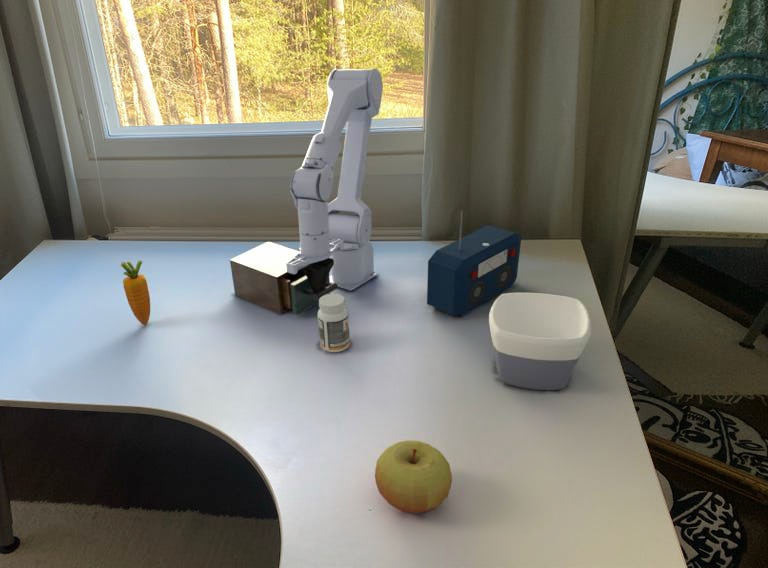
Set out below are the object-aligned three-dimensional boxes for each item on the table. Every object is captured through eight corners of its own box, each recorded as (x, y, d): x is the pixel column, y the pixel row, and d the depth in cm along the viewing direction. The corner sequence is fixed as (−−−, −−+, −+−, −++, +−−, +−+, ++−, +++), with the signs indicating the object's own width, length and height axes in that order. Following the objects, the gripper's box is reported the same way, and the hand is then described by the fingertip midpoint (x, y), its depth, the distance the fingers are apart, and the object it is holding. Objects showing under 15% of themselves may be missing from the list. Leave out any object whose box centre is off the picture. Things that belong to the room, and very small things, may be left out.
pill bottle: (354, 339, 119) (352, 294, 114) (343, 355, 115) (341, 309, 110) (326, 335, 121) (323, 290, 116) (315, 350, 117) (311, 304, 112)
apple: (436, 466, 89) (438, 422, 85) (460, 518, 81) (464, 473, 77) (368, 476, 88) (367, 433, 84) (386, 530, 80) (385, 485, 76)
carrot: (159, 318, 133) (145, 254, 125) (153, 331, 129) (137, 265, 121) (137, 319, 134) (121, 255, 126) (130, 331, 129) (113, 266, 122)
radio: (458, 323, 121) (464, 226, 110) (423, 308, 127) (425, 215, 117) (522, 285, 131) (532, 193, 121) (486, 273, 137) (494, 184, 127)
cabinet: (318, 292, 137) (315, 256, 132) (280, 314, 130) (276, 277, 126) (272, 275, 146) (268, 241, 141) (234, 294, 139) (229, 259, 135)
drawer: (345, 300, 131) (344, 271, 127) (312, 321, 125) (309, 291, 121) (285, 278, 142) (283, 251, 138) (252, 296, 136) (248, 268, 132)
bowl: (583, 404, 97) (595, 344, 92) (481, 392, 102) (486, 334, 97) (578, 350, 110) (588, 295, 104) (487, 341, 115) (492, 288, 109)
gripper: (324, 215, 127) (327, 275, 134) (272, 237, 118) (279, 301, 125) (350, 221, 122) (352, 283, 129) (299, 246, 114) (304, 311, 121)
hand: (318, 293), depth 127 cm, fingers closed, pressing on drawer
